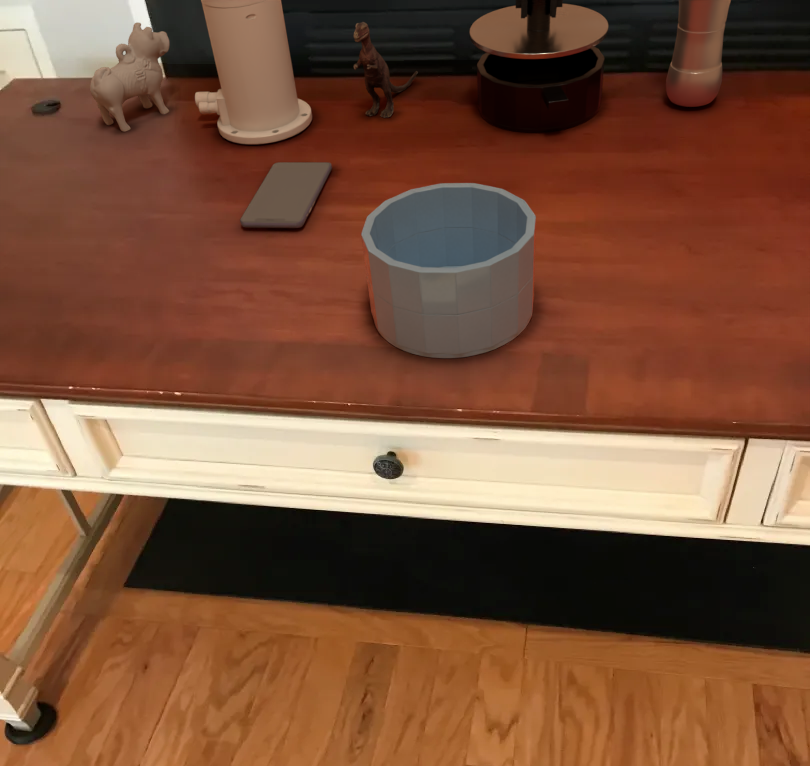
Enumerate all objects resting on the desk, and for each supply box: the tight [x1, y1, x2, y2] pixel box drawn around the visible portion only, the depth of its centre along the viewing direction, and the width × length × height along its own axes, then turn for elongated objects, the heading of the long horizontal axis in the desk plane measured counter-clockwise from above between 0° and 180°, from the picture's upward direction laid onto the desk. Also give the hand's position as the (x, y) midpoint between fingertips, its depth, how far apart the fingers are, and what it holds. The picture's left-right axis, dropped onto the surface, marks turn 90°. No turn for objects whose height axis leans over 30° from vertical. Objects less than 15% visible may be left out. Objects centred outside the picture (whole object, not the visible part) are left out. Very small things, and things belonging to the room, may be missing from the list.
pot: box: [360, 182, 537, 359], centre depth 85 cm, size 16×16×9 cm
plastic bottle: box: [665, 0, 732, 108], centre depth 106 cm, size 6×7×20 cm
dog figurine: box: [89, 21, 170, 132], centre depth 122 cm, size 5×13×11 cm, turn 138°
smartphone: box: [239, 161, 333, 229], centre depth 105 cm, size 8×1×15 cm
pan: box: [476, 46, 606, 134], centre depth 115 cm, size 16×21×6 cm
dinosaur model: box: [353, 21, 419, 119], centre depth 117 cm, size 4×12×15 cm
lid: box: [469, 0, 609, 59], centre depth 108 cm, size 17×17×8 cm
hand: (538, 12), depth 109 cm, fingers closed on lid, 2 cm apart
